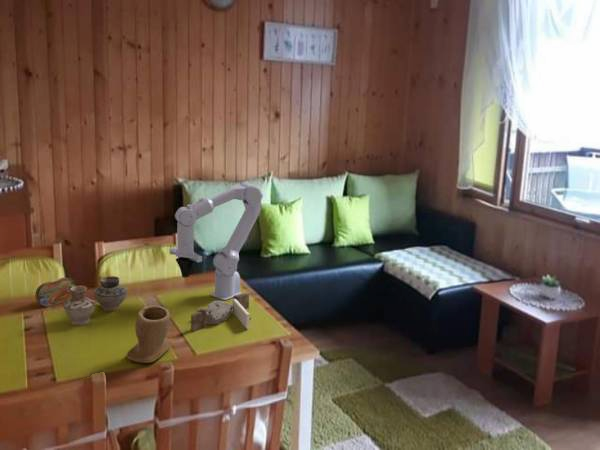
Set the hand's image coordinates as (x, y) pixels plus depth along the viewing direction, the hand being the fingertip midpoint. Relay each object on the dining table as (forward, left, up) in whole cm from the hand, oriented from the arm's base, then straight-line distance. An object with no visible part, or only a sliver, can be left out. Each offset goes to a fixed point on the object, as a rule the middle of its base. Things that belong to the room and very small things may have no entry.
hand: (185, 276), depth 217 cm
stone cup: (+35, +24, -10) cm, 44 cm away
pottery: (+28, -13, -10) cm, 33 cm away
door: (-1, +27, -9) cm, 28 cm away
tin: (+31, -32, -10) cm, 46 cm away
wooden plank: (+3, +21, -9) cm, 23 cm away
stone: (+4, +19, -10) cm, 21 cm away
